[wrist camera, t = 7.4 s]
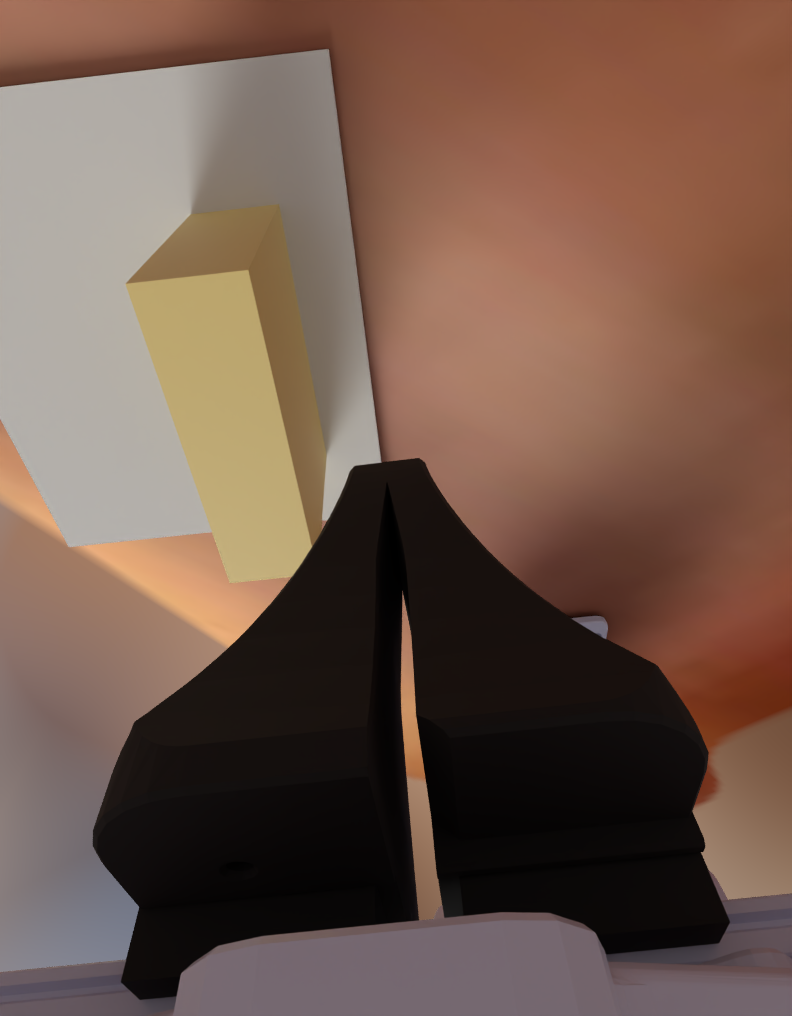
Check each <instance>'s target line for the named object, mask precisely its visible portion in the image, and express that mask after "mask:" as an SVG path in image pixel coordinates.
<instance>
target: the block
mask: <svg viewBox="0 0 792 1016" xmlns="http://www.w3.org/2000/svg"><path fill="white" fill-rule="evenodd" d="M125 285H126V288H127V290H128V293H129V296H130V299H131V302H132V305H133V308H134V310H135V313H136V316H137V319H138V322H139V325H140V328H141V330H142V333H143V336H144V339H145V342H146V345H147V348H148V350H149V353H150V356H151V359H152V362H153V365H154V368H155V371H156V373H157V376H158V379H159V382H160V385H161V388H162V391H163V393H164V396H165V399H166V402H167V405H168V408H169V411H170V413H171V416H172V419H173V422H174V425H175V428H176V431H177V433H178V436H179V439H180V442H181V445H182V448H183V451H184V453H185V456H186V459H187V462H188V465H189V468H190V471H191V474H192V476H193V479H194V482H195V485H196V488H197V491H198V494H199V496H200V499H201V502H202V505H203V508H204V511H205V514H206V516H207V519H208V522H209V525H210V528H211V531H212V534H213V536H214V539H215V542H216V545H217V548H218V551H219V554H220V557H221V559H222V562H223V565H224V568H225V571H226V574H227V577H228V579H229V582H230V583H236V582H246V581H255V580H265V579H274V578H284V577H292V576H293V575H294V573H295V572H296V570H297V569H298V568H299V566H300V565H301V563H302V562H303V560H304V559H305V557H306V556H307V554H308V552H309V551H310V549H311V548H312V546H313V545H314V543H315V541H316V540H317V538H318V537H319V535H320V533H321V527H322V513H323V499H324V486H325V472H326V458H327V455H326V449H325V444H324V439H323V434H322V428H321V423H320V418H319V412H318V407H317V402H316V397H315V391H314V386H313V381H312V375H311V370H310V365H309V360H308V354H307V349H306V344H305V339H304V333H303V328H302V323H301V317H300V312H299V307H298V302H297V296H296V291H295V286H294V281H293V275H292V270H291V265H290V259H289V254H288V249H287V244H286V238H285V233H284V228H283V223H282V217H281V212H280V207H279V204H276V205H267V206H259V207H250V208H241V209H232V210H223V211H215V212H206V213H197V214H191V215H190V216H189V217H188V218H187V219H186V220H185V221H184V222H183V223H182V224H181V225H180V226H179V227H178V228H177V229H176V230H175V232H174V233H173V234H172V235H171V236H170V237H169V238H168V239H167V240H166V241H165V242H164V243H163V244H162V245H161V246H160V247H159V248H158V250H157V251H156V252H155V253H154V254H153V255H152V256H151V257H150V258H149V259H148V260H147V261H146V262H145V263H144V264H143V265H142V267H141V268H140V269H139V270H138V271H137V272H136V273H135V274H134V275H133V276H132V277H131V278H130V279H129V280H128V281H127V282H126V284H125Z"/></svg>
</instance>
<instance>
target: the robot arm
mask: <svg viewBox="0 0 792 1016" xmlns="http://www.w3.org/2000/svg"><path fill="white" fill-rule="evenodd" d="M402 590H403V595H404V600H405V605H406V610H407V615H408V620H409V625H410V630H411V636H412V651H413V667H414V684H415V701H416V717H417V723H418V730H419V737H420V744H421V750H422V757H423V764H424V771H425V778H426V784H427V791H428V797H429V804H430V811H431V819H432V828H433V839H434V850H435V860H436V870H437V877H438V879H439V886H440V893H441V900H442V906H440V907H439V908H438V910H437V912H436V914H435V916H434V919H429V920H419V916H418V905H417V894H416V883H415V872H414V860H413V849H412V837H411V826H410V814H409V803H408V791H407V778H406V766H405V753H404V741H403V728H402V715H401V643H402ZM607 631H608V624H607V622H606V620H605V618H604V617H601V616H588V617H578V618H570V617H568V616H567V615H566V614H564V613H563V612H561V611H560V610H559V609H557V608H556V607H554V606H553V605H552V604H550V603H549V602H547V601H546V600H545V599H543V598H542V597H540V596H539V595H538V594H536V593H535V592H534V591H532V590H531V589H530V588H529V587H528V586H526V585H525V584H524V583H523V582H522V581H520V580H519V579H518V578H517V577H515V576H514V575H513V574H512V573H511V572H510V571H509V570H508V569H507V568H506V567H504V566H503V565H502V564H501V563H500V562H499V561H498V560H497V559H496V558H495V557H494V556H493V555H492V554H491V553H490V552H489V551H488V550H487V549H486V548H485V547H484V546H483V545H482V544H481V543H480V541H479V540H478V539H477V538H476V537H475V536H474V535H473V534H472V533H471V531H470V530H469V529H468V528H467V527H466V525H465V524H464V523H463V522H462V521H461V519H460V518H459V517H458V515H457V514H456V513H455V511H454V510H453V509H452V508H451V506H450V505H449V504H448V502H447V501H446V499H445V498H444V496H443V495H442V493H441V492H440V490H439V489H438V487H437V486H436V484H435V482H434V481H433V479H432V477H431V475H430V473H429V471H428V469H427V467H426V464H425V462H423V461H422V460H421V459H420V458H415V459H407V460H399V461H390V462H382V463H373V464H365V465H356V466H354V467H353V468H352V469H351V470H350V472H349V475H348V478H347V480H346V483H345V485H344V488H343V490H342V492H341V495H340V497H339V499H338V501H337V503H336V505H335V507H334V509H333V511H332V513H331V515H330V517H329V519H328V520H327V522H326V524H325V526H324V528H323V530H322V531H321V533H320V535H319V537H318V538H317V540H316V541H315V543H314V545H313V546H312V548H311V549H310V551H309V552H308V554H307V556H306V557H305V559H304V560H303V562H302V563H301V565H300V566H299V568H298V569H297V570H296V572H295V573H294V575H293V576H292V577H291V579H290V580H289V581H288V583H287V584H286V585H285V587H284V588H283V589H282V590H281V592H280V593H279V594H278V595H277V597H276V598H275V599H274V600H273V602H272V603H271V604H270V605H269V606H268V607H267V608H266V609H265V611H264V612H263V613H262V614H261V615H260V616H259V617H258V618H257V620H256V621H255V622H254V623H253V624H252V625H251V626H250V627H249V628H248V629H247V630H246V631H245V632H244V633H243V634H242V635H241V636H240V637H239V638H238V639H237V640H236V641H235V642H234V643H233V644H232V645H231V646H230V647H229V648H228V649H227V650H226V651H225V652H223V653H222V654H221V655H220V656H219V657H218V658H217V659H216V660H214V661H213V662H212V663H211V664H210V665H209V666H207V667H206V668H205V669H204V670H203V671H202V672H201V673H199V674H198V675H197V676H196V677H194V678H193V679H192V680H191V681H189V682H188V683H187V684H186V685H184V686H183V687H182V688H180V689H179V690H177V691H176V692H175V693H174V694H172V695H171V696H169V697H168V698H167V699H165V700H164V701H163V702H161V703H160V704H159V705H157V706H156V707H155V708H153V709H152V710H151V711H150V712H148V713H147V714H145V715H144V716H142V717H141V718H139V719H138V720H136V721H135V722H134V724H133V727H132V730H131V732H130V734H129V736H128V738H127V740H126V742H125V744H124V747H123V748H122V750H121V753H120V755H119V757H118V760H117V762H116V765H115V767H114V770H113V773H112V775H111V779H110V782H109V784H108V788H107V790H106V793H105V796H104V799H103V802H102V805H101V808H100V811H99V814H98V817H97V820H96V823H95V826H94V829H93V847H94V849H95V851H96V853H97V854H98V856H99V858H100V860H101V862H102V863H103V864H104V866H105V867H106V868H107V869H108V870H109V872H110V873H111V874H112V875H113V876H114V878H115V879H116V880H117V881H118V882H119V884H120V885H121V886H122V887H123V888H124V889H125V891H126V892H127V893H128V894H129V895H130V896H131V898H132V899H133V900H134V901H135V902H136V904H137V905H138V906H139V911H138V915H137V919H136V923H135V927H134V931H133V935H132V939H131V942H130V947H129V950H128V955H127V958H126V960H118V961H108V962H98V963H87V964H77V965H67V966H58V967H47V968H37V969H27V970H17V971H8V972H0V1016H792V894H782V895H771V896H761V897H752V898H741V899H732V900H728V899H727V897H726V895H725V893H724V892H723V889H722V888H721V886H720V884H719V882H718V881H717V879H716V878H715V876H714V875H713V874H712V873H711V872H710V871H709V870H708V868H707V866H706V864H705V861H704V859H703V856H702V854H701V852H703V851H704V849H705V842H704V837H703V835H702V833H701V831H700V828H699V826H698V824H697V821H696V819H695V817H694V814H693V812H692V810H693V808H694V805H695V802H696V799H697V796H698V793H699V790H700V787H701V784H702V781H703V779H704V776H705V773H706V770H707V763H708V753H709V752H708V750H707V748H706V745H705V743H704V741H703V738H702V736H701V734H700V731H699V729H698V727H697V725H696V723H695V721H694V719H693V718H692V716H691V714H690V712H689V711H688V709H687V708H686V706H685V705H684V703H683V702H682V700H681V699H680V697H679V696H678V694H677V693H676V691H675V690H674V688H673V687H672V685H671V684H670V683H669V681H668V680H667V678H666V677H665V675H664V674H663V673H662V671H661V670H660V669H659V667H658V666H657V665H656V664H654V663H652V662H650V661H648V660H646V659H644V658H642V657H640V656H638V655H636V654H634V653H632V652H630V651H628V650H626V649H625V648H623V647H621V646H619V645H617V644H615V643H613V642H611V641H609V640H607V639H606V637H607Z"/></svg>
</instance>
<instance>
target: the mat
mask: <svg viewBox="0 0 792 1016" xmlns="http://www.w3.org/2000/svg"><path fill="white" fill-rule="evenodd" d="M276 204H279V207H280V212H281V217H282V223H283V228H284V233H285V238H286V244H287V249H288V254H289V259H290V265H291V270H292V275H293V281H294V286H295V291H296V296H297V302H298V307H299V312H300V317H301V323H302V328H303V333H304V339H305V344H306V349H307V354H308V360H309V365H310V370H311V375H312V381H313V386H314V391H315V397H316V402H317V407H318V412H319V418H320V423H321V428H322V434H323V439H324V444H325V449H326V455H327V458H326V472H325V486H324V499H323V513H322V520H328V519H329V517H330V515H331V513H332V511H333V509H334V507H335V505H336V503H337V501H338V499H339V497H340V495H341V492H342V490H343V488H344V485H345V483H346V480H347V478H348V475H349V472H350V470H351V469H352V468H353V467H354V466H356V465H365V464H373V463H382V462H381V454H380V447H379V439H378V431H377V423H376V415H375V407H374V399H373V392H372V384H371V376H370V368H369V360H368V352H367V344H366V337H365V329H364V321H363V313H362V305H361V297H360V289H359V282H358V274H357V266H356V258H355V250H354V242H353V234H352V227H351V219H350V211H349V203H348V195H347V187H346V179H345V172H344V164H343V156H342V148H341V140H340V132H339V124H338V117H337V109H336V101H335V93H334V85H333V77H332V69H331V62H330V54H329V49H323V50H314V51H306V52H297V53H289V54H280V55H271V56H263V57H254V58H246V59H237V60H229V61H220V62H211V63H203V64H194V65H186V66H177V67H169V68H160V69H151V70H143V71H134V72H126V73H117V74H109V75H100V76H91V77H83V78H74V79H66V80H57V81H49V82H40V83H31V84H23V85H14V86H6V87H0V419H1V421H2V423H3V425H4V427H5V428H6V430H7V432H8V434H9V436H10V438H11V440H12V442H13V443H14V445H15V447H16V449H17V451H18V453H19V455H20V457H21V458H22V460H23V462H24V464H25V466H26V468H27V470H28V471H29V473H30V475H31V477H32V479H33V481H34V483H35V485H36V486H37V488H38V490H39V492H40V494H41V496H42V498H43V500H44V501H45V503H46V505H47V507H48V509H49V511H50V513H51V514H52V516H53V518H54V520H55V522H56V524H57V526H58V528H59V529H60V531H61V533H62V535H63V537H64V539H65V541H66V543H67V544H68V546H69V547H74V546H84V545H94V544H103V543H113V542H122V541H132V540H141V539H151V538H160V537H170V536H179V535H189V534H198V533H208V532H212V531H211V528H210V525H209V522H208V519H207V516H206V514H205V511H204V508H203V505H202V502H201V499H200V496H199V494H198V491H197V488H196V485H195V482H194V479H193V476H192V474H191V471H190V468H189V465H188V462H187V459H186V456H185V453H184V451H183V448H182V445H181V442H180V439H179V436H178V433H177V431H176V428H175V425H174V422H173V419H172V416H171V413H170V411H169V408H168V405H167V402H166V399H165V396H164V393H163V391H162V388H161V385H160V382H159V379H158V376H157V373H156V371H155V368H154V365H153V362H152V359H151V356H150V353H149V350H148V348H147V345H146V342H145V339H144V336H143V333H142V330H141V328H140V325H139V322H138V319H137V316H136V313H135V310H134V308H133V305H132V302H131V299H130V296H129V293H128V290H127V288H126V285H125V284H126V282H127V281H128V280H129V279H130V278H131V277H132V276H133V275H134V274H135V273H136V272H137V271H138V270H139V269H140V268H141V267H142V265H143V264H144V263H145V262H146V261H147V260H148V259H149V258H150V257H151V256H152V255H153V254H154V253H155V252H156V251H157V250H158V248H159V247H160V246H161V245H162V244H163V243H164V242H165V241H166V240H167V239H168V238H169V237H170V236H171V235H172V234H173V233H174V232H175V230H176V229H177V228H178V227H179V226H180V225H181V224H182V223H183V222H184V221H185V220H186V219H187V218H188V217H189V216H190V215H191V214H197V213H206V212H215V211H223V210H232V209H241V208H250V207H259V206H267V205H276Z"/></svg>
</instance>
